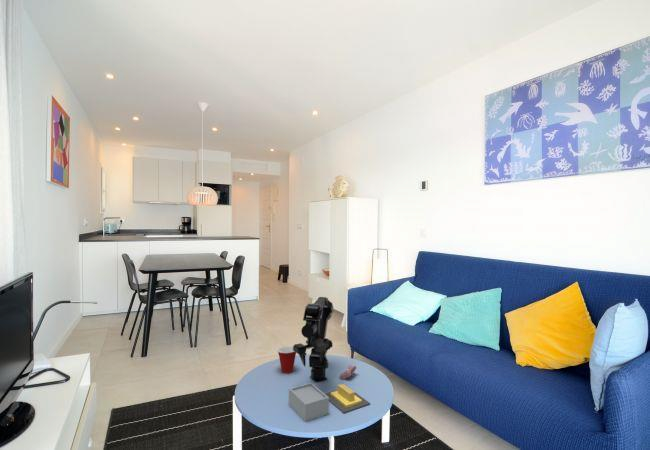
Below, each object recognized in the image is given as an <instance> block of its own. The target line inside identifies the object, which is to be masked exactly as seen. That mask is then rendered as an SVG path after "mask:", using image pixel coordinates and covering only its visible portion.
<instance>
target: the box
mask: <svg viewBox="0 0 650 450" xmlns="http://www.w3.org/2000/svg"><path fill="white" fill-rule="evenodd" d="M288 405H289V407H291V408H292V410H293V411H295V412H296V414H297V415H298V416H299V417H300V418H301V419H302V420H303V421H304V422H305V423H306V422H309V421H311V420H314V419H318V418H321V417H323V416H326V415H330V414H329V413H330V412H329V409H330V401H329V397H328V396H327V395H325V393H324V392H323V391H322V390H320V388H318V387H317V386H316V385H314V384H313V383H312V382H308V383H305V384H301V385H298V386H294V387H289V388H288Z"/></svg>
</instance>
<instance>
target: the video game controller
mask: <svg viewBox="0 0 650 450" xmlns="http://www.w3.org/2000/svg"><path fill="white" fill-rule="evenodd" d="M356 370H357V366H355V365H354V364H351V365H349V366H347V368H346V369H345V371H343V372H342V373H340V374H339V379H340V380H344V379H349V378H350V377H351V376H353V375H354V374H353V373H354V372H356Z"/></svg>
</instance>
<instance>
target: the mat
mask: <svg viewBox="0 0 650 450" xmlns="http://www.w3.org/2000/svg"><path fill="white" fill-rule="evenodd" d="M351 390H352V389H351ZM335 391H338V389H335V390H332V391H329V392H326V393H324V394H325V395H327V396H328V397H329V403H331V405H333V406H335V408H337V409H338V410H339V411H340V412H341V413H342V414H347V413H350V412H352V411H354V410H358V409H361V408H365V407H366V406H369V405H371V402H369V401H368V400H367V399H366V398H363V396H361V395H360V394H358V393H357V392H355V395H356V396H357V397H358V398H360V399H361V400H362V403H359V404H356V405H353V406H350V407H347V408H346V407H345V406H343V405H342V404H341V403H340V402H339V401H337V400H336V399H335V398H334V397H332V396H331V395H330V393H331V392H335ZM352 391H354V390H352Z"/></svg>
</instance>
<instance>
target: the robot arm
mask: <svg viewBox="0 0 650 450" xmlns="http://www.w3.org/2000/svg"><path fill="white" fill-rule="evenodd" d="M333 314H334V305H333V303H332V302H331V301H330V300H329V298H328V297H326V296H325V297H324V296H319V297H318V298H317V299H316V300H315V302H313V303H307V304H306V306H305V308H304V313H303V318H302V320H303V321H305V324H303V326H302V328H301V334H302V336H303V337H304V338H306V340H305V344H303V343H301V342H300V343H297V344H296V343H295V344H294V345H293V346H292V347H293V351H295V352H296V355H298V356H299V357H300V360H301V363H302V365H303V366H304V367H306V356H307V354H308V353H307V350H309V349H311V350H310V354H309V357H308V363H309V364H308V365H309V368H311V370H310V379H311V380H313V381H314V382H315V383H319V382H323V381H326V380H328V378H327V377H326V369H327V368H329V361H328V357H327V353H326V351H327V352H328V351H329V350H331V348H333V344H334V343H333V341H332V340H330V339H329V338H327V337H326V336H327V330H328V329H327V328H328V323H329V321H330V319H331V318H332V315H333Z"/></svg>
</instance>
